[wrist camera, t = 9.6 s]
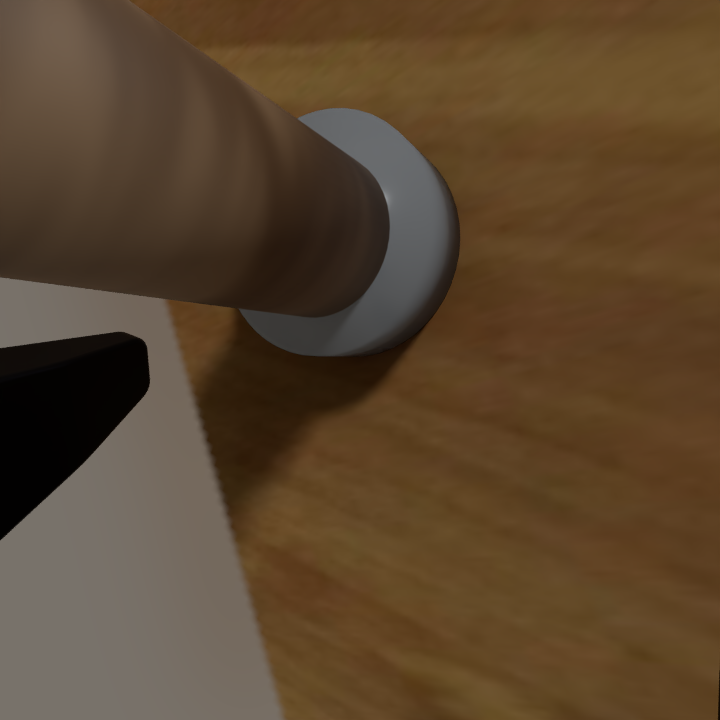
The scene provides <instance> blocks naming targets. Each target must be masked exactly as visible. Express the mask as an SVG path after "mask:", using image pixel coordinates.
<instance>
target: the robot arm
mask: <svg viewBox="0 0 720 720" xmlns="http://www.w3.org/2000/svg"><path fill="white" fill-rule="evenodd" d="M149 376H150V375H149V363H148V352H147V346H146V344H145V342H144V341H143V340H142V339H140V338H138V337H135V336H133V335H130V334H128V333H125V332H113V333H106V334H99V335H92V336H85V337H78V338H71V339H63V340H56V341H49V342H42V343H35V344H27V345H20V346H13V347H6V348H0V540H1V539H2V538H3V537H5V536H6V535H7V534H8V533H9V532H10V531H11V530H12V529H13V528H14V527H15V526H16V525H17V524H19V523H20V522H21V521H22V520H23V519H24V518H25V517H26V516H27V515H28V514H29V513H31V511H33V509H35V508H36V507H37V506H38V505H39V504H40V503H41V502H42V501H43V500H44V499H46V498H47V497H48V496H49V495H50V494H51V493H52V492H53V491H54V490H55V489H56V488H57V487H59V486H60V485H61V484H62V483H63V482H64V481H65V480H66V479H67V478H68V477H69V476H71V475H72V474H73V473H74V472H75V471H76V470H77V469H78V468H79V467H80V466H81V465H82V464H83V463H84V462H85V461H86V460H87V459H88V458H89V457H90V456H91V454H93V452H94V451H95V450H96V449H97V448H98V447H99V446H100V445H101V444H102V442H103V441H104V440H105V439H106V438H107V437H108V436H109V435H110V433H111V432H112V431H113V430H114V429H115V428H116V427H117V426H118V425H119V423H120V422H121V421H122V420H123V419H124V418H125V417H126V416H127V414H128V413H129V412H130V411H131V410H132V409H133V408H134V407H135V406H136V404H137V403H138V402H139V401H140V400H141V399H142V398H143V397H144V395H145V394H146V392H147V390H148V388H149V384H150V377H149ZM718 720H720V672H719V702H718Z"/></svg>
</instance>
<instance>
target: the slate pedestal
mask: <svg viewBox="0 0 720 720" xmlns="http://www.w3.org/2000/svg"><path fill="white" fill-rule="evenodd" d="M297 119H298V120H300V121H301V122H302V123H304V124H305V125H307V126H308V127H310V128H311V129H312V130H314V131H315V132H317V133H318V134H320V135H321V136H322V137H324V138H325V139H327V140H328V141H329V142H331V143H332V144H334V145H335V146H337V147H338V148H339V149H341V150H342V151H344V152H345V153H347V154H348V155H349V156H351V157H352V158H354V159H355V160H357V161H358V162H359V163H361V164H362V165H363V166H364V167H366V168H367V169H368V170H369V171H370V172H371V173H372V175H373V176H374V177H375V178H376V180H377V182H378V183H379V185H380V187H381V189H382V191H383V193H384V195H385V199H386V202H387V205H388V211H389V218H390V234H389V243H388V248H387V252H386V255H385V259H384V262H383V264H382V266H381V269H380V271H379V273H378V275H377V276H376V278H375V280H374V281H373V283H372V284H371V286H370V287H369V288H368V290H367V291H366V292H365V293H364V294H363V295H362V296H361V297H360V298H359V299H358V300H357V301H355V302H354V303H353V304H352V305H350V306H349V307H347V308H345V309H344V310H342V311H340V312H337V313H335V314H332V315H329V316H325V317H317V318H309V317H300V316H292V315H284V314H277V313H269V312H261V311H254V310H246V309H239V310H240V312H241V313H242V315H243V316H244V318H245V319H246V320H247V322H248V323H249V324H250V325H251V326H252V328H253V329H254V330H255V331H256V332H257V333H258V334H260V335H261V336H262V337H263V338H264V339H266V340H267V341H269V342H270V343H272V344H274V345H275V346H277V347H279V348H281V349H284V350H286V351H289V352H292V353H296V354H300V355H309V356H343V357H357V356H368V355H373V354H378V353H381V352H384V351H387V350H389V349H392V348H394V347H396V346H398V345H399V344H401V343H403V342H405V341H406V340H408V339H409V338H410V337H412V336H413V335H414V334H416V333H417V332H418V331H419V330H420V329H421V328H422V327H423V326H424V325H425V324H426V323H427V322H428V321H429V320H430V318H431V317H432V316H433V315H434V314H435V312H436V311H437V309H438V308H439V306H440V305H441V303H442V301H443V300H444V298H445V296H446V294H447V292H448V290H449V288H450V285H451V283H452V280H453V277H454V274H455V271H456V267H457V262H458V257H459V248H460V225H459V218H458V213H457V208H456V205H455V202H454V199H453V196H452V193H451V191H450V189H449V187H448V185H447V183H446V181H445V179H444V178H443V177H442V175H441V174H440V172H439V171H438V170H437V168H436V167H435V166H434V165H433V164H432V163H431V162H430V161H429V160H428V159H427V158H426V157H425V156H424V155H423V154H422V153H420V152H419V151H418V150H417V149H416V148H415V147H414V146H413V145H412V144H411V143H410V142H409V141H408V140H407V139H406V138H405V137H403V136H402V135H401V134H400V133H399V132H398V131H397V130H396V129H395V128H393V127H392V126H391V125H389V124H388V123H387V122H385V121H384V120H382V119H380V118H378V117H376V116H374V115H372V114H369V113H366V112H363V111H359V110H354V109H347V108H331V109H325V110H319V111H315V112H312V113H309V114H306V115H303V116H301V117H299V118H297Z"/></svg>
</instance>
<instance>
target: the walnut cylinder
mask: <svg viewBox="0 0 720 720" xmlns="http://www.w3.org/2000/svg"><path fill="white" fill-rule="evenodd" d="M389 234H390V218H389V211H388V205H387V202H386V199H385V195H384V193H383V191H382V189H381V187H380V185H379V183H378V182H377V180H376V178H375V177H374V176H373V175H372V173H371V172H370V171H369V170H368V169H367V168H366V167H364V166H363V165H362V164H361V163H359V162H358V161H357V160H355V159H354V158H352V157H351V156H349V155H348V154H347V153H345V152H344V151H342V150H341V149H339V148H338V147H337V146H335V145H334V144H332V143H331V142H329V141H328V140H327V139H325V138H324V137H322V136H321V135H320V134H318V133H317V132H315V131H314V130H312V129H311V128H310V127H308V126H307V125H305V124H304V123H302V122H301V121H300V120H298V119H297V118H295V117H294V116H292V115H291V114H290V113H288V112H287V111H285V110H284V109H283V108H281V107H280V106H278V105H277V104H275V103H274V102H273V101H271V100H270V99H268V98H267V97H265V96H264V95H263V94H261V93H260V92H258V91H257V90H256V89H254V88H253V87H251V86H250V85H248V84H247V83H246V82H244V81H243V80H241V79H240V78H238V77H237V76H236V75H234V74H233V73H231V72H230V71H228V70H227V69H226V68H224V67H223V66H221V65H220V64H219V63H217V62H216V61H214V60H213V59H211V58H210V57H209V56H207V55H206V54H204V53H203V52H201V51H200V50H199V49H197V48H196V47H194V46H193V45H191V44H190V43H189V42H187V41H186V40H184V39H183V38H182V37H180V36H179V35H177V34H176V33H174V32H173V31H172V30H170V29H169V28H167V27H166V26H164V25H163V24H162V23H160V22H159V21H157V20H156V19H155V18H153V17H152V16H150V15H149V14H147V13H146V12H145V11H143V10H142V9H140V8H139V7H137V6H136V5H135V4H133V3H132V2H130V1H129V0H0V277H2V278H10V279H19V280H25V281H33V282H40V283H48V284H56V285H64V286H71V287H79V288H86V289H94V290H102V291H109V292H117V293H124V294H132V295H139V296H147V297H155V298H162V299H170V300H178V301H185V302H193V303H200V304H208V305H216V306H223V307H231V308H239V309H246V310H254V311H261V312H269V313H277V314H284V315H292V316H300V317H309V318H317V317H325V316H329V315H332V314H335V313H337V312H340V311H342V310H344V309H345V308H347V307H349V306H350V305H352V304H353V303H354V302H355V301H357V300H358V299H359V298H360V297H361V296H362V295H363V294H364V293H365V292H366V291H367V290H368V288H369V287H370V286H371V284H372V283H373V281H374V280H375V278H376V276H377V275H378V273H379V271H380V269H381V266H382V264H383V262H384V259H385V255H386V252H387V248H388V243H389Z"/></svg>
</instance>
